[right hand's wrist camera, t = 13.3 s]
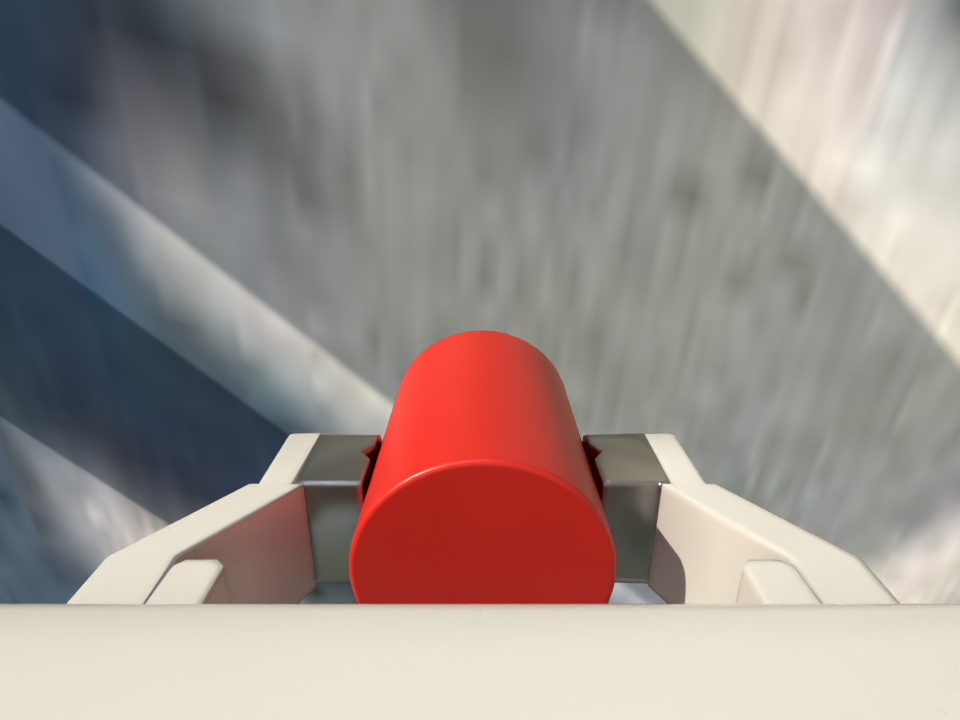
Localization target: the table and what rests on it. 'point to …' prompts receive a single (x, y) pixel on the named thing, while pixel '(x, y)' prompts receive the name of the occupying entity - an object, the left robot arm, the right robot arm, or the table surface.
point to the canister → (482, 487)
